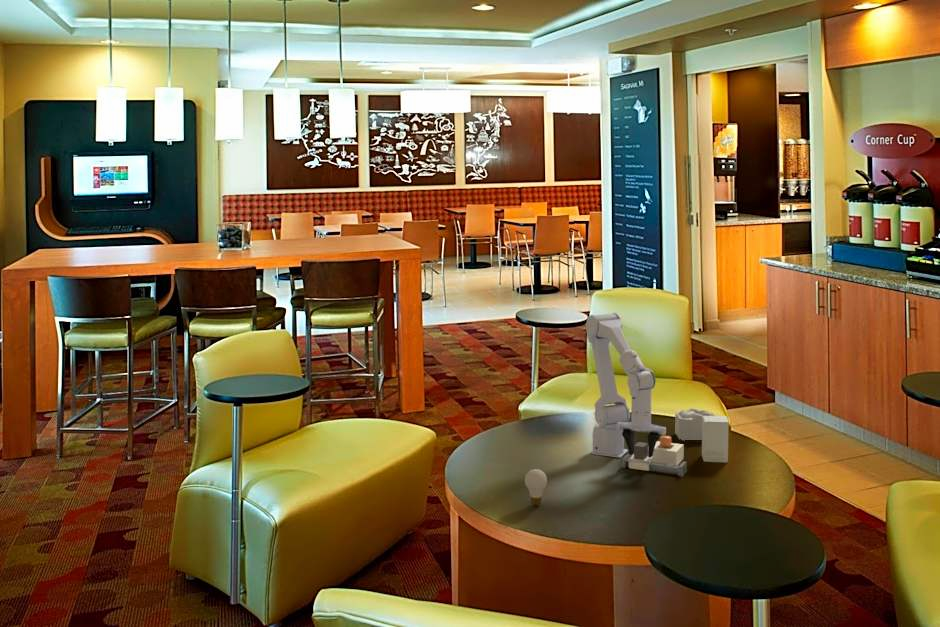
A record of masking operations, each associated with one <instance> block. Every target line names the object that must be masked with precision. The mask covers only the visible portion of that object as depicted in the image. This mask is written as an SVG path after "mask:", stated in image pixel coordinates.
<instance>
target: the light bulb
mask: <svg viewBox="0 0 940 627" xmlns="http://www.w3.org/2000/svg"><path fill="white" fill-rule="evenodd" d="M524 484H525V486H526V488H527V490H528V491H529V492H528V493H529V495H530V499H531V500H530V501H531V502H530V503H531V504H532V505H533V506H535V507H539V506H540V505H541V504H542V496H543V492H544V490H545V488H546V486H547V484H548V478H547V475H546V473H545V472H544V471H543V470H541V469H538V468H537V469H536V468H534V469H530V470H529V471H528V472H527V473H526V474H525V476H524Z"/></svg>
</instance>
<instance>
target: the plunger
mask: <svg viewBox="0 0 940 627" xmlns="http://www.w3.org/2000/svg"><path fill="white" fill-rule="evenodd" d="M659 441H660V447H662V448H666V449H668V448H670V447H671V443H672V436H670V435H661V436H659Z"/></svg>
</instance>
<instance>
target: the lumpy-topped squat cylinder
mask: <svg viewBox="0 0 940 627" xmlns="http://www.w3.org/2000/svg"><path fill="white" fill-rule="evenodd" d="M703 416H717V415H716V414H714V413H712V412H709V411H708V410H706V409H700V410H699V409H697V408H695V407H694V408H692V407H691V408H689V409H688V410H687V409H684V410H680V411H678V412H675V417H674V418H675V420H674V422H675V424H674V426H675V427H674V429H675V430H674V433H675V434H676V435H677V436H678V437H677V436H676V435H675V434H674V435H675V436H676V437H677V439H678V438H679V439H678V440H680V439H681V440H680V441H685V440H702V420H703Z"/></svg>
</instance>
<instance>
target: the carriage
mask: <svg viewBox="0 0 940 627" xmlns="http://www.w3.org/2000/svg"><path fill="white" fill-rule="evenodd" d="M648 447H649V446H648V442H642V441H641V442H640V441H638V442H636V443H635V444H634V453H633V454H632V455H631V457H630V458H629V468H628V469H633V470H641V471H648V472H649V463H650V462H653V456H652V457H648Z"/></svg>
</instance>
